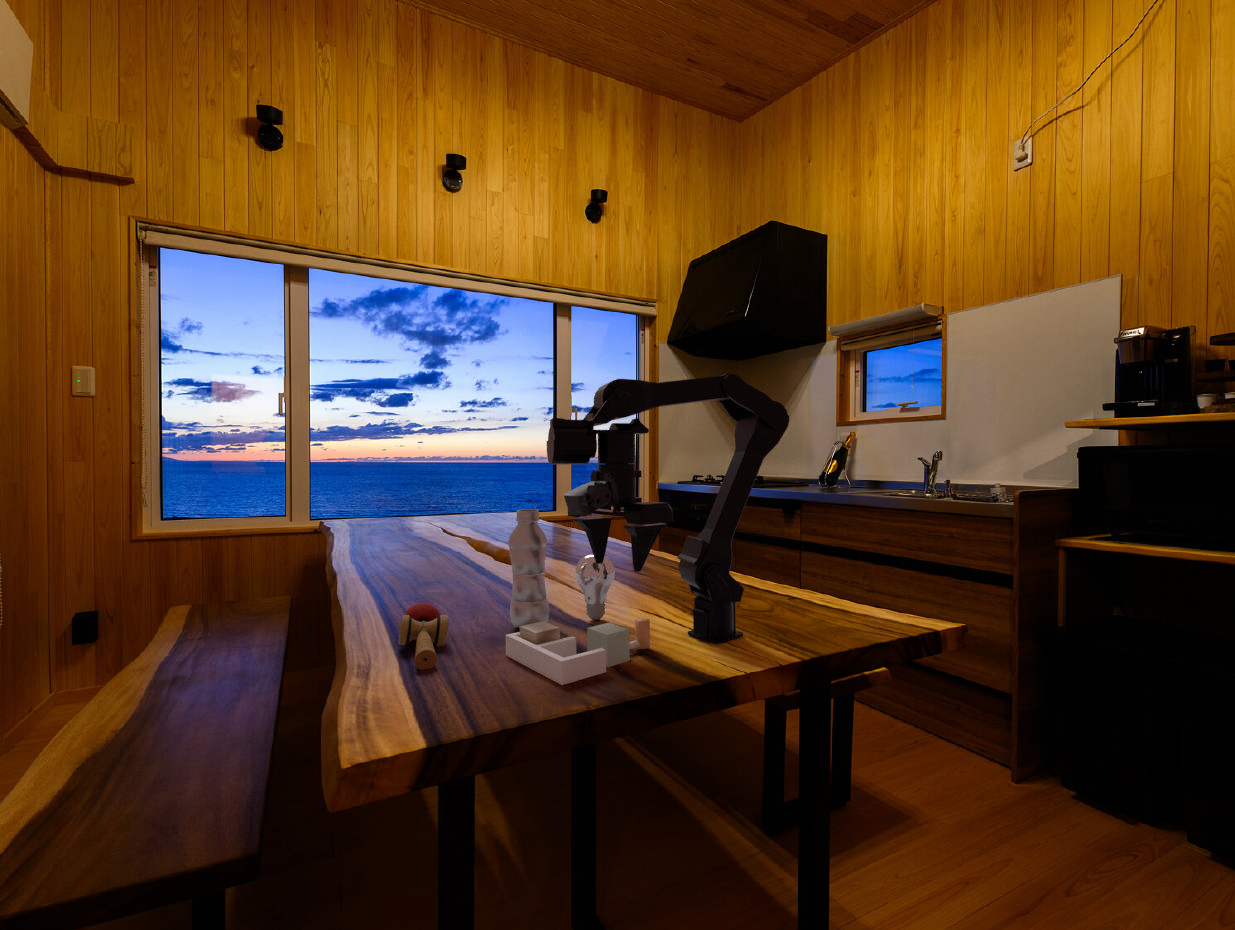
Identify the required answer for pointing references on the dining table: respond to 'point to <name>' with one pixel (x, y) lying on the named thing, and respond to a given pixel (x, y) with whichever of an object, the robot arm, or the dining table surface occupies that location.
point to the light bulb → (595, 583)
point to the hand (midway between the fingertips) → (617, 567)
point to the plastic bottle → (528, 570)
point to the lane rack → (556, 658)
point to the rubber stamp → (618, 640)
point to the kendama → (424, 632)
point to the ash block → (539, 632)
